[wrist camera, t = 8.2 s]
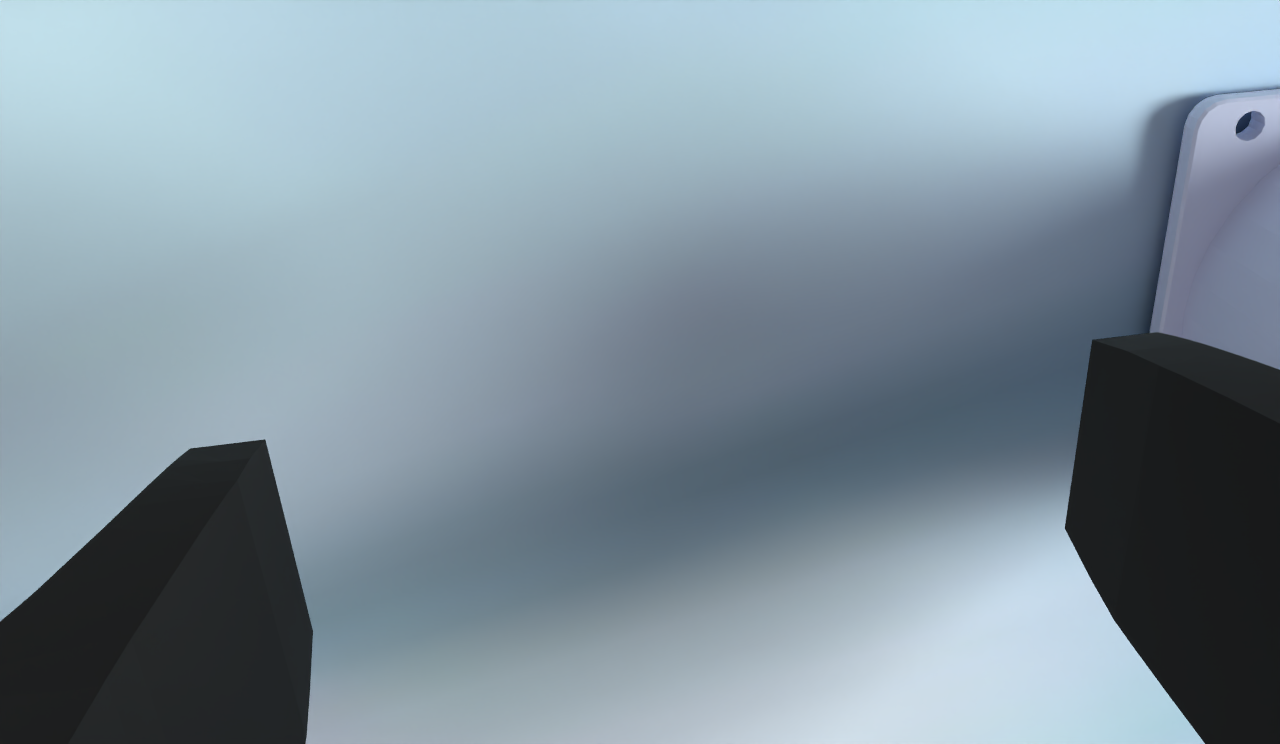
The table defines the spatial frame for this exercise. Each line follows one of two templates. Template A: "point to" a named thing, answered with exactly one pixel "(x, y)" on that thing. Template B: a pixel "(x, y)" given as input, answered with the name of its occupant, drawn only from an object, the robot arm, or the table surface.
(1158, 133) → the table surface
